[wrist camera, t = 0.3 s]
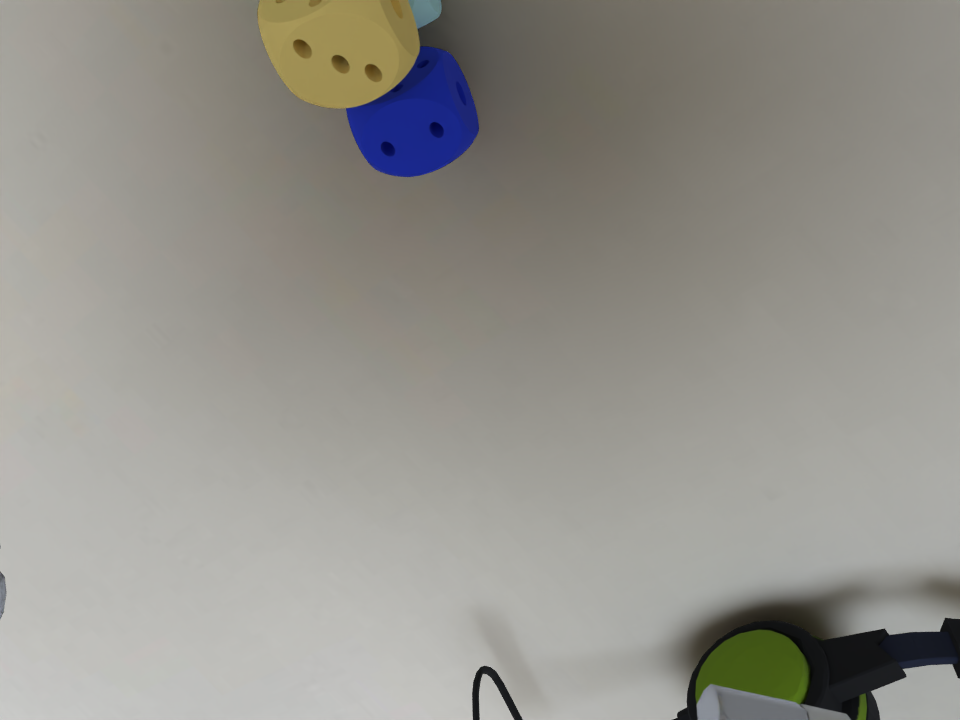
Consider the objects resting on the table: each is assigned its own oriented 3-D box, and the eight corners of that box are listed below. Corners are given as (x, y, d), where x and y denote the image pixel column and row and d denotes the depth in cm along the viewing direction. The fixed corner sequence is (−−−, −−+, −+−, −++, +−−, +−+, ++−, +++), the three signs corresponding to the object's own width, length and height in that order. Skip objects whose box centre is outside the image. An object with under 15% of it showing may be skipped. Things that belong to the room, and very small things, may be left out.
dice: (493, 121, 24) (460, 200, 19) (408, 154, 25) (351, 240, 20) (366, -195, 21) (280, -210, 16) (271, -145, 22) (158, -144, 16)
